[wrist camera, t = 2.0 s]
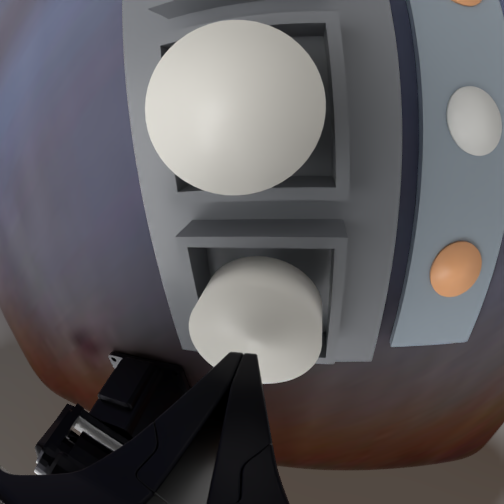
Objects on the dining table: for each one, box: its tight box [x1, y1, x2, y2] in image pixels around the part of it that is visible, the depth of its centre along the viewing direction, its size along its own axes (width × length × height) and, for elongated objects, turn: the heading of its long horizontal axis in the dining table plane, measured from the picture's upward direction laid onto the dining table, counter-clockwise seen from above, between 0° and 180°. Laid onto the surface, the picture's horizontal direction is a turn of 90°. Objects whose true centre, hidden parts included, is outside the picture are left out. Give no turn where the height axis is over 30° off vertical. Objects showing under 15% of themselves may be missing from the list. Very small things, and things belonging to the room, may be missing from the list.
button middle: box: [145, 20, 326, 195], centre depth 7 cm, size 4×4×2 cm
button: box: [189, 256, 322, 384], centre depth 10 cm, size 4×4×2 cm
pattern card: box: [390, 0, 504, 347], centre depth 9 cm, size 24×5×1 cm, turn 5°
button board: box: [122, 0, 402, 364], centre depth 9 cm, size 23×10×4 cm, turn 5°
